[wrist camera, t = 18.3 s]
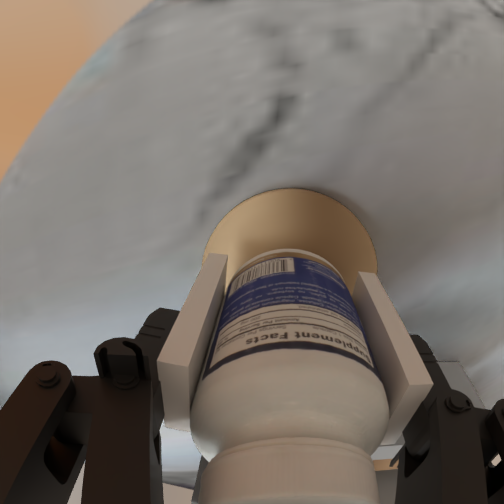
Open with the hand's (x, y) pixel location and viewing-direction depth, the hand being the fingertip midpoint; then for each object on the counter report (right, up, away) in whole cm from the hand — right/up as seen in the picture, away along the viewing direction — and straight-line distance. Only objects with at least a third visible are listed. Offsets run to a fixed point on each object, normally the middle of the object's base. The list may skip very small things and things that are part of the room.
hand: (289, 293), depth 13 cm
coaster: (0, +1, +2) cm, 2 cm away
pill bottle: (0, 0, +1) cm, 1 cm away
